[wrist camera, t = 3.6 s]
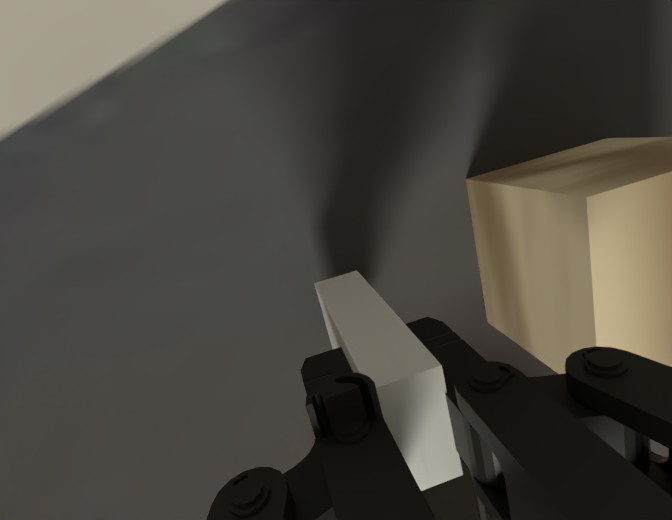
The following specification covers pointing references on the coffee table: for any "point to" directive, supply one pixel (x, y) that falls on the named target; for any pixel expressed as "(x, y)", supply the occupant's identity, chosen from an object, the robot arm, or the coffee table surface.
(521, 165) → the block
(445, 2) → the coffee table surface
